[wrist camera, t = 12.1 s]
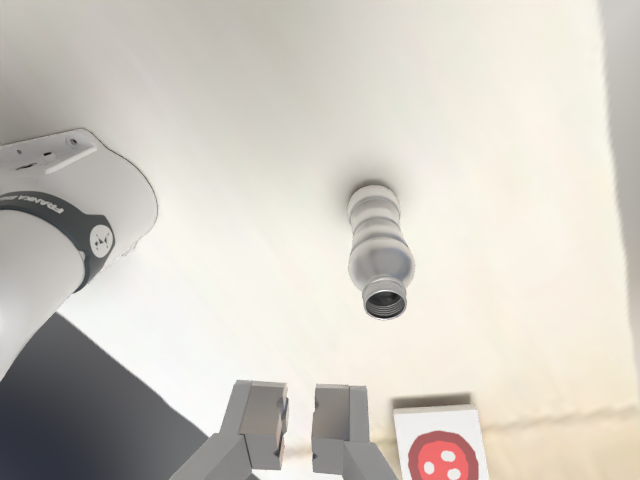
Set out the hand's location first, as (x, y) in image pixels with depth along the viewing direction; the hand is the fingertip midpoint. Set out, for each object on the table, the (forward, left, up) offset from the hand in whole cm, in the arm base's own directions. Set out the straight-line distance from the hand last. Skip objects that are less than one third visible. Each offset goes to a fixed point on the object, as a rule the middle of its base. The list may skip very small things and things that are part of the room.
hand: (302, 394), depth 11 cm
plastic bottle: (+5, -12, -37) cm, 40 cm away
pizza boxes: (+21, -67, -37) cm, 80 cm away
